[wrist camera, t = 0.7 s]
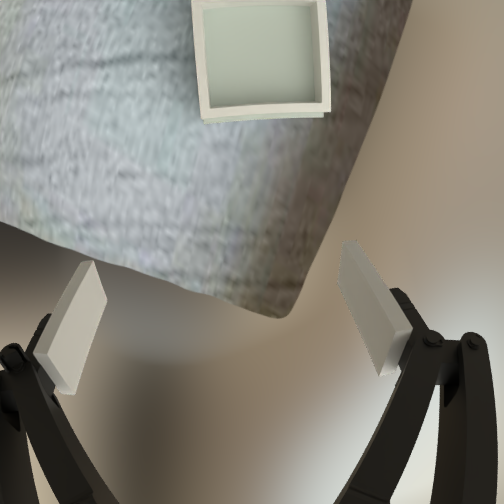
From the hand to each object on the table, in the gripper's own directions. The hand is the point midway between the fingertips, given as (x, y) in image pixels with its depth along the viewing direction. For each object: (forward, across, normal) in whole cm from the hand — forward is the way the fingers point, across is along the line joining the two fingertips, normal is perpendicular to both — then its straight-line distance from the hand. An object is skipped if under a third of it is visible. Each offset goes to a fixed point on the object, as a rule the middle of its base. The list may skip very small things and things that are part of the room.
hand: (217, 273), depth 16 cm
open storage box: (+29, +5, +12) cm, 32 cm away
